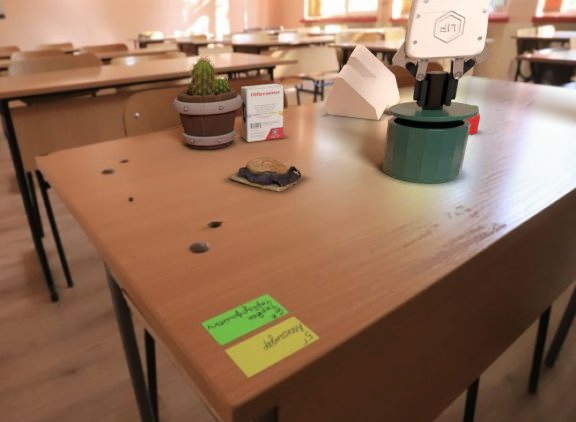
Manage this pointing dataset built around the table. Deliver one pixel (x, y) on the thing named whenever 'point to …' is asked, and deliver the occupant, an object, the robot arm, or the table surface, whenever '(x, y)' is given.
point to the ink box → (262, 112)
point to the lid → (434, 104)
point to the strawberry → (474, 123)
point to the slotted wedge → (362, 87)
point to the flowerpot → (207, 108)
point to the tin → (425, 150)
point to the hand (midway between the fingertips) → (432, 103)
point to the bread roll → (268, 174)
